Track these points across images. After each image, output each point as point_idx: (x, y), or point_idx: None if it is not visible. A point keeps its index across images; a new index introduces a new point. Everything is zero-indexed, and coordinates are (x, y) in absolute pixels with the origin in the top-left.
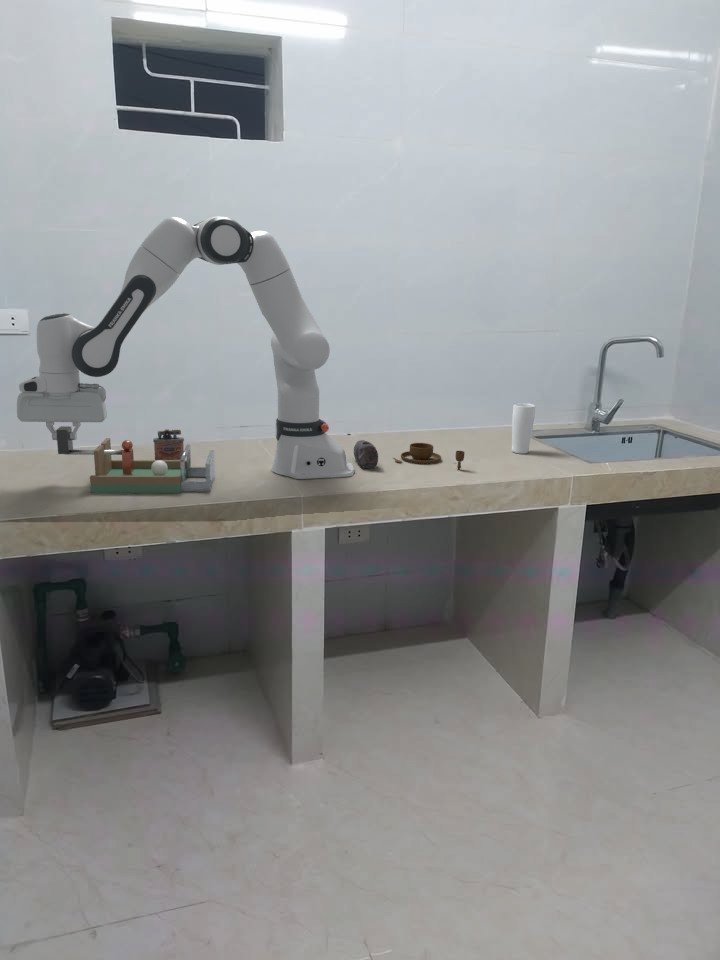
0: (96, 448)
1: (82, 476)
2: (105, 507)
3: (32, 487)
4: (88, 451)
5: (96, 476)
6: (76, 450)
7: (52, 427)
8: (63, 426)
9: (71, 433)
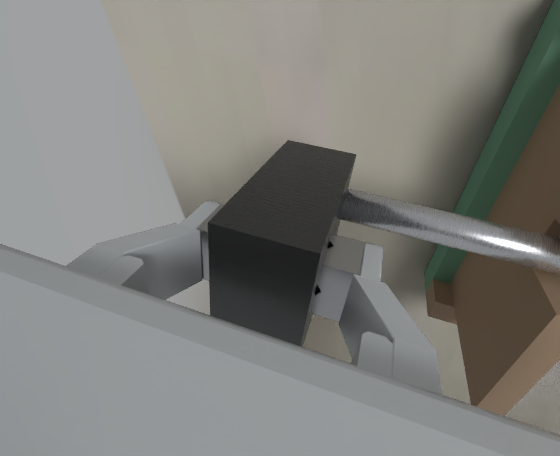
0: (504, 376)
1: (412, 10)
2: (447, 389)
3: (227, 164)
4: (458, 248)
5: (455, 321)
6: (378, 226)
7: (155, 270)
8: (235, 235)
9: (335, 317)
